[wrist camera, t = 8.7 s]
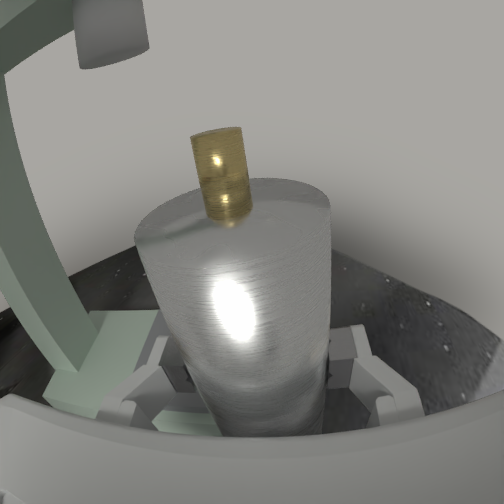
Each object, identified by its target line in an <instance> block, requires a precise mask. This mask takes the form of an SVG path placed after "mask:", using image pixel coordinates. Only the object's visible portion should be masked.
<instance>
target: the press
mask: <svg viewBox="0 0 504 504" xmlns="http://www.w3.org/2000/svg"><path fill="white" fill-rule="evenodd" d="M72 30H74V31H75V39H76V47H77V54H78V60H79V66H80V68H81V69H93V68H98V67H102V66H106V65H110V64H114V63H117V62H120V61H123V60H126V59H129V58H132V57H135V56H137V55H139V54H142V53H144V52H145V51H147V50H148V49H149V42H148V35H147V30H146V23H145V16H144V9H143V2H142V0H0V290H1V291H2V293H3V295H4V297H5V298H6V300H7V302H8V304H9V305H10V307H11V308H12V310H13V312H14V313H15V315H16V316H17V318H18V319H19V321H20V323H21V324H22V326H23V327H24V329H25V330H26V331H27V333H28V334H29V336H30V337H31V339H32V340H33V341H34V343H35V344H36V346H37V347H38V348H39V350H40V351H41V352H42V354H43V355H44V356H45V358H46V359H47V360H48V362H49V363H50V364H51V365H52V367H53V368H54V369H55V370H56V371H55V373H54V374H53V376H52V378H51V380H50V382H49V384H48V386H47V388H46V390H45V392H44V394H43V397H44V398H45V399H46V400H47V401H48V402H49V403H50V404H51V406H53V407H54V408H56V409H59V410H63V411H66V412H70V413H73V414H77V415H81V416H84V417H88V418H92V419H95V418H96V416H97V413H98V411H99V408H100V406H101V403H102V401H103V399H104V396H105V395H106V394H108V393H109V392H110V391H111V390H113V389H114V388H115V387H116V386H118V385H119V384H120V383H121V382H122V381H124V380H125V379H126V378H127V377H129V376H130V375H131V374H132V373H134V372H135V371H136V370H137V369H139V368H140V367H141V366H142V365H146V364H147V361H148V359H149V356H150V354H151V351H152V348H153V346H154V343H155V341H156V338H157V337H158V336H159V335H162V336H172V335H171V333H170V330H169V328H168V326H167V324H166V321H165V319H164V317H163V314H162V312H161V309H159V310H131V311H90V313H89V314H87V312H86V311H85V309H84V307H83V305H82V303H81V302H80V300H79V298H78V296H77V294H76V292H75V290H74V288H73V286H72V284H71V283H70V281H69V279H68V277H67V275H66V273H65V271H64V269H63V266H62V264H61V262H60V260H59V258H58V256H57V253H56V251H55V249H54V247H53V245H52V242H51V240H50V238H49V235H48V233H47V231H46V228H45V226H44V223H43V220H42V218H41V215H40V213H39V210H38V208H37V205H36V202H35V199H34V196H33V193H32V191H31V188H30V185H29V182H28V178H27V176H26V172H25V169H24V166H23V162H22V159H21V155H20V151H19V148H18V144H17V140H16V136H15V132H14V127H13V123H12V118H11V114H10V108H9V103H8V97H7V91H6V85H5V78H4V74H6V73H7V72H8V71H10V70H11V69H12V68H14V67H15V66H16V65H18V64H19V63H20V62H22V61H23V60H25V59H26V58H28V57H29V56H31V55H32V54H34V53H35V52H37V51H38V50H40V49H42V48H43V47H45V46H46V45H48V44H50V43H51V42H53V41H55V40H56V39H58V38H59V37H62V36H63V35H65V34H67V33H69V32H70V31H72ZM152 423H153V424H154V425H155V427H156V428H157V429H158V430H159V431H163V432H171V433H179V434H190V435H202V436H218V437H223V436H222V434H221V432H220V430H219V429H218V427H217V425H216V423H215V422H214V420H213V418H212V416H211V414H210V412H209V411H208V409H207V407H206V405H205V403H204V401H203V399H202V397H201V395H200V393H199V391H198V389H197V392H196V393H179V392H177V394H176V395H175V396H174V397H173V399H172V400H171V401H170V402H169V403H168V404H167V405H166V406H165V407H164V409H163V410H162V411H161V412H160V413H159V414H158V415H157V416H156V417H155V418H154V420H153V421H152Z"/></svg>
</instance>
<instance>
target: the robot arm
mask: <svg viewBox="0 0 504 504" xmlns="http://www.w3.org/2000/svg"><path fill="white" fill-rule="evenodd" d="M326 381H327V389H334V388H345V387H349V389H350V390H351V391H352V392H353V393H354V394H355V395H356V397H357V398H358V399H359V400H360V401H361V402H362V403H363V404H364V406H365V407H366V408H367V409H368V410H369V411H370V412H371V415H370V417H369V420H368V423H367V425H366V428H365V429H360V430H353V431H346V432H338V433H329V434H319V435H306V436H290V437H218V436H202V435H190V434H179V433H171V432H163V431H159V430H158V429H157V428H156V427H155V425H154V424H153V423H152V421H153V420H154V418H155V417H156V416H157V415H158V414H159V413H160V412H161V411H162V410H163V409H164V407H165V406H166V405H167V404H168V403H169V402H170V401H171V400H172V399H173V397H174V396H175V395H176V394H177V392H179V393H196V392H197V388H196V386H195V384H194V382H193V380H192V378H191V376H190V373H189V371H188V369H187V367H186V365H185V363H184V361H183V359H182V357H181V355H180V353H179V350H178V348H177V346H176V344H175V342H174V339H173V337H172V336H162V335H159V336H158V337H157V338H156V341H155V343H154V346H153V348H152V351H151V354H150V356H149V359H148V361H147V364H146V365H142V366H141V367H140V368H139V369H137V370H136V371H135V372H134V373H132V374H131V375H130V376H129V377H127V378H126V379H125V380H124V381H122V382H121V383H120V384H119V385H118V386H116V387H115V388H114V389H113V390H111V391H110V392H109V393H108V394H106V395H105V396H104V399H103V401H102V403H101V406H100V408H99V411H98V413H97V416H96V418H95V419H92V418H88V417H84V416H81V415H77V414H73V413H70V412H66V411H63V410H59V409H56V408H53V407H50V406H47V405H44V404H41V403H38V402H35V401H32V400H29V399H27V398H24V397H21V396H19V395H16V394H8V395H6V396H4V397H3V398H1V399H0V504H504V390H502V391H499V392H497V393H494V394H492V395H489V396H487V397H484V398H481V399H479V400H476V401H473V402H470V403H467V404H464V405H461V406H458V407H455V408H452V409H449V410H445V411H442V412H438V413H435V414H431V415H427V416H425V414H424V410H423V407H422V404H421V400H420V397H419V394H418V390H417V388H415V387H414V386H413V385H412V384H410V383H409V382H408V381H407V380H405V379H404V378H403V377H402V376H401V375H399V374H398V373H397V372H396V371H394V370H393V369H392V368H391V367H389V366H388V365H387V364H386V363H385V362H383V361H382V360H381V359H380V358H378V357H377V356H372V353H371V349H370V345H369V342H368V338H367V335H366V331H365V328H364V326H363V324H360V325H353V326H344V327H336V328H330V335H329V351H328V368H327V380H326Z"/></svg>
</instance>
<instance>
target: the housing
mask: <svg viewBox="0 0 504 504" xmlns="http://www.w3.org/2000/svg"><path fill="white" fill-rule="evenodd" d="M190 139H191V144H192V149H193V154H194V159H195V163H196V168H197V173H198V178H199V183H200V187H201V188H199V189H196V190H193V191H190V192H188V193H185V194H182V195H180V196H178V197H175V198H173V199H171V200H169V201H167V202H166V203H164V204H162V205H160V206H159V207H157V208H156V209H155V210H153V211H152V212H151V213H149V214H148V215H147V216H146V217H145V218H144V219H143V220H142V221H141V223H140V224H139V225H138V227H137V229H136V231H135V236H134V238H135V244H136V247H137V250H138V253H139V255H140V258H141V261H142V264H143V266H144V269H145V272H146V274H147V277H148V280H149V282H150V285H151V287H152V290H153V292H154V295H155V297H156V300H157V302H158V305H159V307H160V309H161V312H162V314H163V317H164V319H165V321H166V324H167V326H168V328H169V330H170V333H171V335H172V337H173V339H174V342H175V344H176V346H177V348H178V350H179V353H180V355H181V357H182V359H183V361H184V363H185V365H186V367H187V369H188V371H189V373H190V376H191V378H192V380H193V382H194V384H195V386H196V388H197V389H198V391H199V393H200V395H201V397H202V399H203V401H204V403H205V405H206V407H207V409H208V411H209V412H210V414H211V416H212V418H213V420H214V422H215V423H216V425H217V427H218V429H219V430H220V432H221V434H222V436H223V437H290V436H306V435H319V434H322V425H323V415H324V405H325V395H326V383H327V381H326V380H327V368H328V351H329V335H330V309H331V221H330V220H331V216H330V203H329V199H328V198H327V196H326V195H325V194H324V193H323V192H322V191H320V190H319V189H317V188H315V187H313V186H311V185H308V184H306V183H302V182H298V181H294V180H287V179H277V178H254V179H249V175H248V169H247V163H246V156H245V150H244V143H243V138H242V131H241V128H240V127H228V128H221V129H215V130H210V131H206V132H202V133H198V134H196V135H193V136H191V137H190Z"/></svg>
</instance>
